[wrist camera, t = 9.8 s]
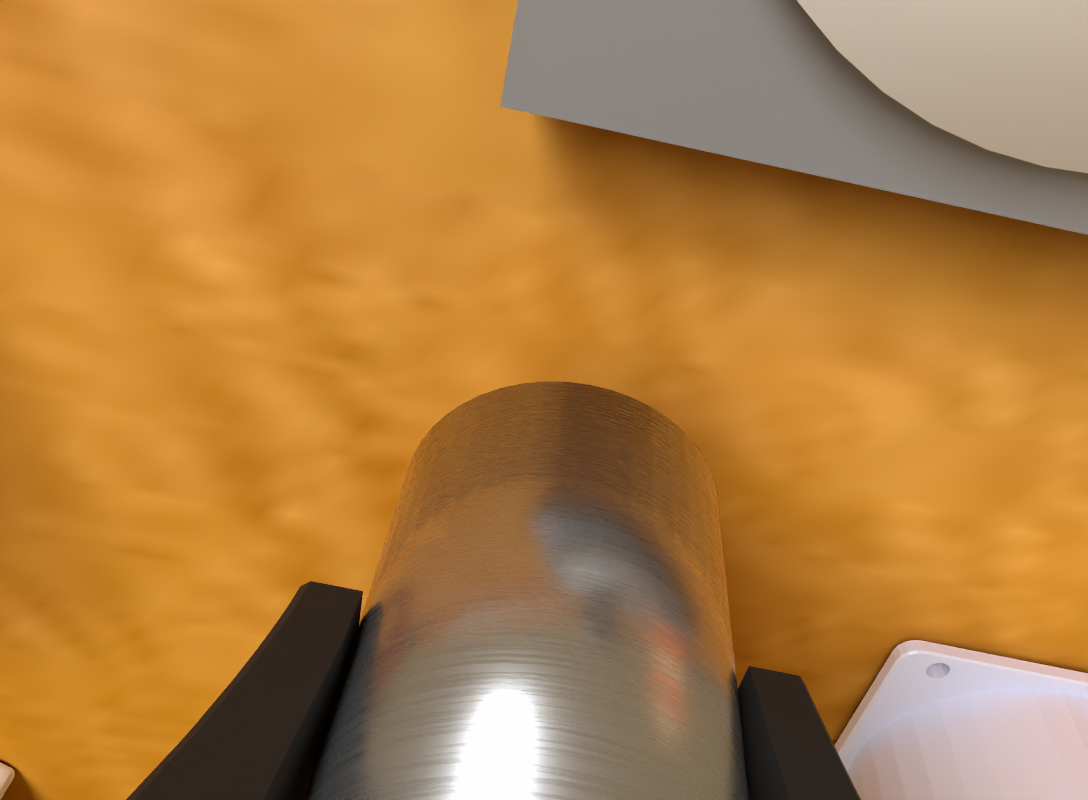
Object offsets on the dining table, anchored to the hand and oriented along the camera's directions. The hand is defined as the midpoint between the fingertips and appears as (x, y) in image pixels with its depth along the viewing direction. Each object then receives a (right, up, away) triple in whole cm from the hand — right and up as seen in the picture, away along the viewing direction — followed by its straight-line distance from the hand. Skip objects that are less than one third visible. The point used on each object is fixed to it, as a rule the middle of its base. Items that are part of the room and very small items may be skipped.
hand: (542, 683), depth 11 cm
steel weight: (0, +2, +2) cm, 3 cm away
